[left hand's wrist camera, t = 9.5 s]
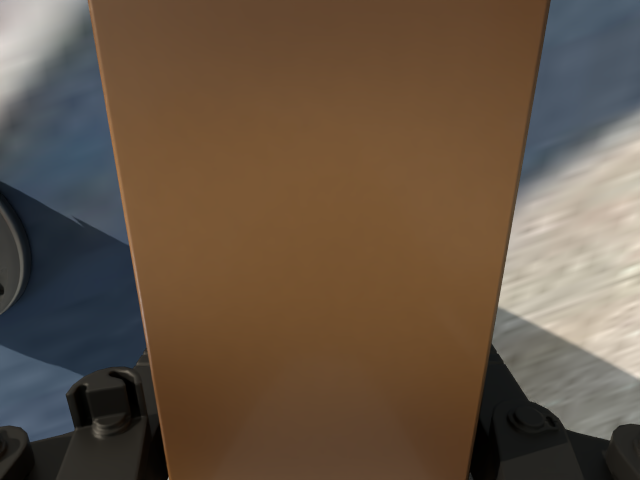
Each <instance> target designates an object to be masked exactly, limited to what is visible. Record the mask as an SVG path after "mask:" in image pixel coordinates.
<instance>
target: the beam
mask: <svg viewBox="0 0 640 480" xmlns="http://www.w3.org/2000/svg"><path fill="white" fill-rule="evenodd" d="M550 1H551V0H88V4H89V10H90V16H91V22H92V28H93V34H94V39H95V45H96V51H97V57H98V63H99V69H100V75H101V81H102V86H103V92H104V98H105V104H106V110H107V116H108V122H109V128H110V134H111V139H112V145H113V151H114V157H115V163H116V169H117V175H118V181H119V187H120V192H121V198H122V204H123V210H124V216H125V222H126V228H127V234H128V239H129V245H130V251H131V257H132V263H133V269H134V275H135V281H136V287H137V292H138V298H139V304H140V310H141V316H142V322H143V328H144V334H145V339H146V345H147V351H148V357H149V363H150V369H151V375H152V381H153V387H154V392H155V398H156V404H157V410H158V416H159V422H160V428H161V434H162V439H163V445H164V451H165V457H166V463H167V469H168V475H169V480H468V476H469V470H470V464H471V458H472V453H473V447H474V441H475V435H476V429H477V424H478V418H479V412H480V406H481V401H482V395H483V389H484V383H485V377H486V372H487V366H488V360H489V354H490V348H491V343H492V337H493V331H494V325H495V320H496V314H497V308H498V302H499V296H500V291H501V285H502V279H503V273H504V267H505V262H506V256H507V250H508V244H509V238H510V233H511V227H512V221H513V215H514V210H515V204H516V198H517V192H518V186H519V181H520V175H521V169H522V163H523V157H524V152H525V146H526V140H527V134H528V129H529V123H530V117H531V111H532V105H533V100H534V94H535V88H536V82H537V76H538V71H539V65H540V59H541V53H542V48H543V42H544V36H545V30H546V24H547V19H548V13H549V7H550Z"/></svg>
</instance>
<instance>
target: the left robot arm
mask: <svg viewBox="0 0 640 480" xmlns="http://www.w3.org/2000/svg"><path fill="white" fill-rule="evenodd" d="M30 272H31V252H30V246H29V242H28V239H27V236H26V233H25V230H24V228H23V225H22V223H21V221H20V220H19V218H18V216H17V214H16V213H15V211H14V210H13V208H12V207H11V205H10V204H9V203H8V201H7V200H6V199H5V198H4V196H3V195H2V194H1V193H0V315H1V314H2V313H3V312H5V311H6V310H8V309H9V308H10V307H11V306H13V305H14V304H15V303H16V302H17V301H18V299H19V298H20V297H21V295H22V294H23V292H24V290H25V288H26V286H27V284H28V281H29V277H30ZM66 398H67V401H68V405H69V409H70V412H71V416H72V420H73V424H74V427H75V430H74V431H73V432H69V433H66V434H63V435H59V436H55V437H51V438H46V439H42V440H38V441H34V442H30V441H29V438H28V435H27V433H26V432H25V431H24V430H23V429H22V428H21V427H15V426H3V427H0V480H167V479H168V477H169V475H168V469H167V463H166V457H165V451H164V445H163V439H162V434H161V428H160V422H159V416H158V410H157V404H156V398H155V392H154V387H153V381H152V375H151V369H150V363H149V357H148V351H147V348H146V349H145V351H144V352H143V355H142V356H141V357H140V359H139V360H138V362H137V365H136V366H134V368H133V369H131V368H127V367H110V368H106V369H102V370H98V371H95V372H93V373H91V374H89V375H87V376H85V377H83V378H82V379H80V380H79V381H78V382H76V383H75V384H74V385H72V387H71V388H70V390H69V391H68V392H67V394H66ZM470 473H471V475H472V478H473V480H640V425H636V424H626V425H621V426H619V427H618V428H616V429H615V430H614V431H613V434H612V437H611V440H610V441H609V440H605V439H601V438H597V437H592V436H588V435H584V434H580V433H576V432H573V431H570V430H566V429H565V428H564V426H563V424H562V423H561V421H560V420H559V418H558V417H556V416H555V415H554V414H553V413H552V412H550V411H549V410H548V409H546V408H544V407H542V406H540V405H538V404H537V403H534V402H530V401H529V400H528V399H527V397H526V396H525V394H524V393H523V391H522V389H521V388H520V386H519V385H518V383H517V382H516V380H515V379H514V377H513V376H512V374H511V373H510V371H509V369H508V368H507V366H506V365H505V364H504V363H503V360H502V359H501V357H500V356H499V354H497V351H496V349H495V348H494V346H493V345H492V343H491V348H490V354H489V360H488V366H487V372H486V377H485V383H484V389H483V395H482V401H481V406H480V412H479V418H478V424H477V429H476V435H475V441H474V447H473V453H472V458H471V464H470V470H469V475H470ZM468 480H469V476H468Z"/></svg>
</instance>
